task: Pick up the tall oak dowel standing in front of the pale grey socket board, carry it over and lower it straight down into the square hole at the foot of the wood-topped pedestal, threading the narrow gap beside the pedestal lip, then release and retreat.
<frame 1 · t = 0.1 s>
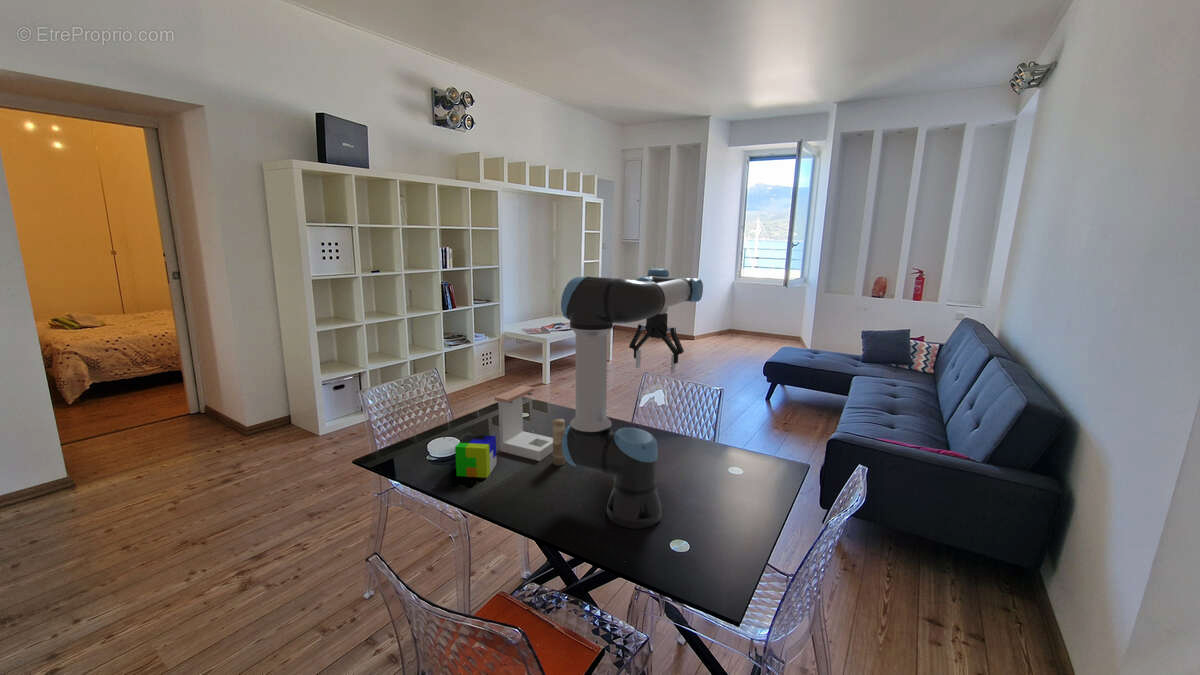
hand: (655, 369, 179), 28 cm above the table, fingers open, 13 cm apart
wood-topped pedestal: (515, 415, 177), on the socket board, point 12 cm above the table
dowel: (559, 462, 166), on the table
puzzle toy: (477, 470, 161), on the table
socket board: (529, 449, 177), on the table
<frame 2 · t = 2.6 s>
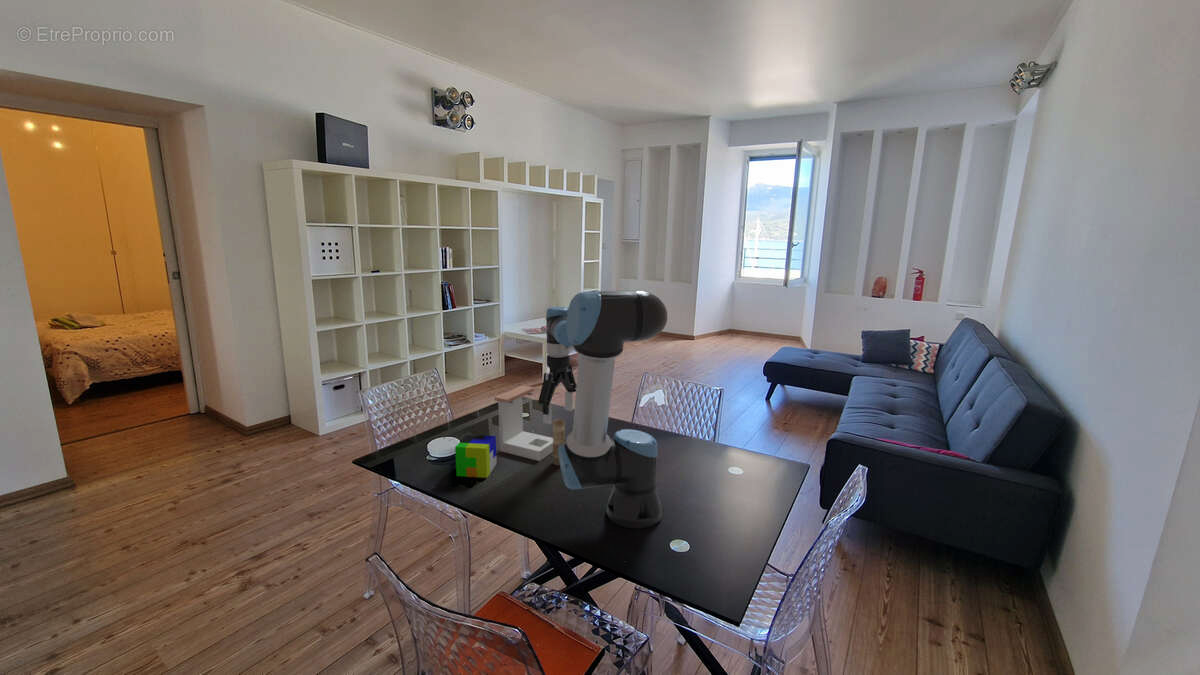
hand: (558, 416, 163), 16 cm above the table, fingers open, 13 cm apart
nothing on the table moved.
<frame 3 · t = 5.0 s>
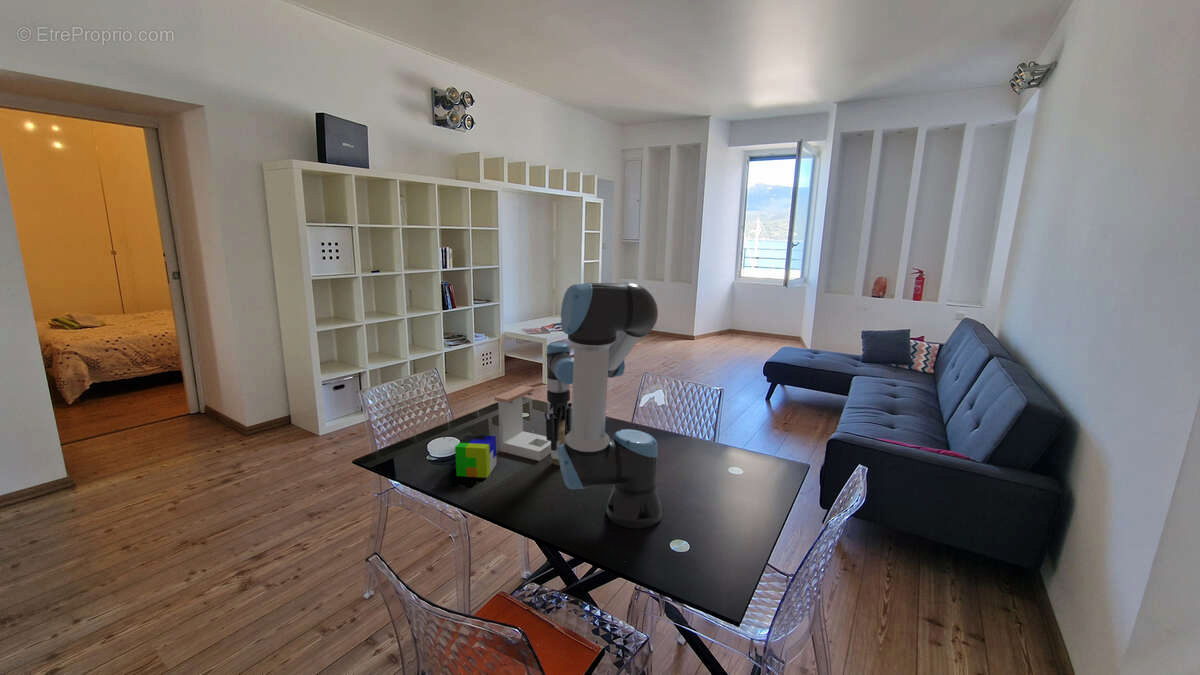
hand: (558, 455, 166), 3 cm above the table, fingers closed on dowel, 4 cm apart
dowel: (559, 462, 166), on the table, touching gripper
everything else where it was.
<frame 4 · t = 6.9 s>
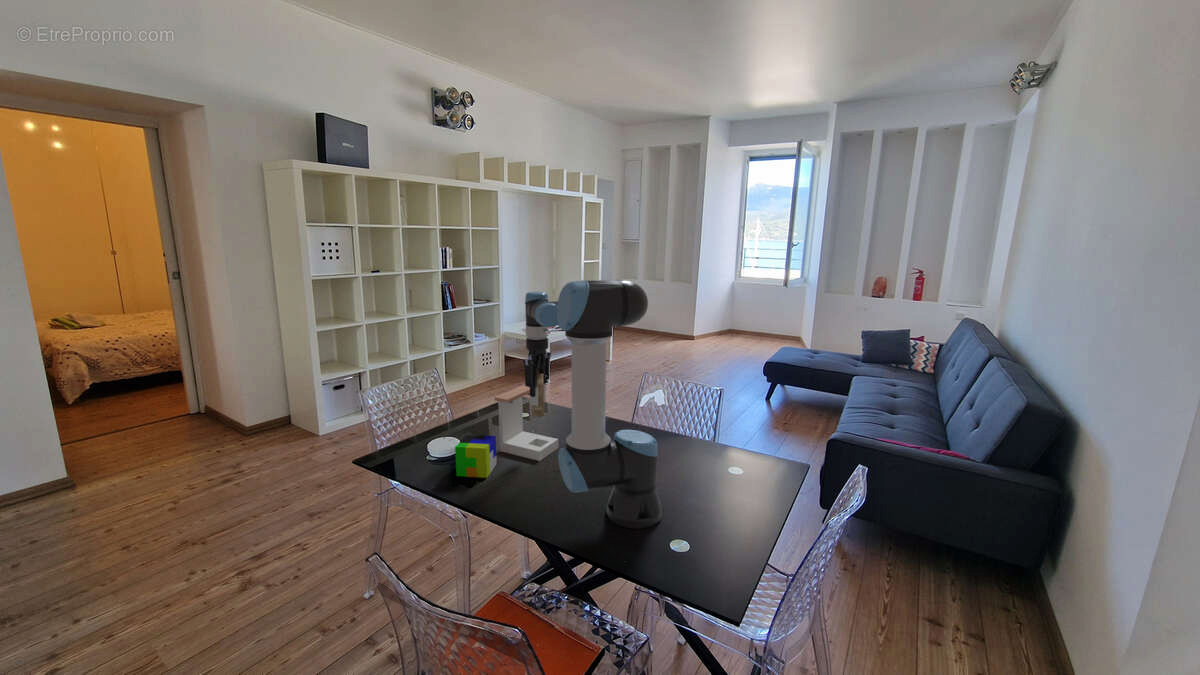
hand: (538, 402, 171), 18 cm above the table, fingers closed on dowel, 4 cm apart
dowel: (538, 415, 172), point 14 cm above the table, touching gripper
everything else where it was.
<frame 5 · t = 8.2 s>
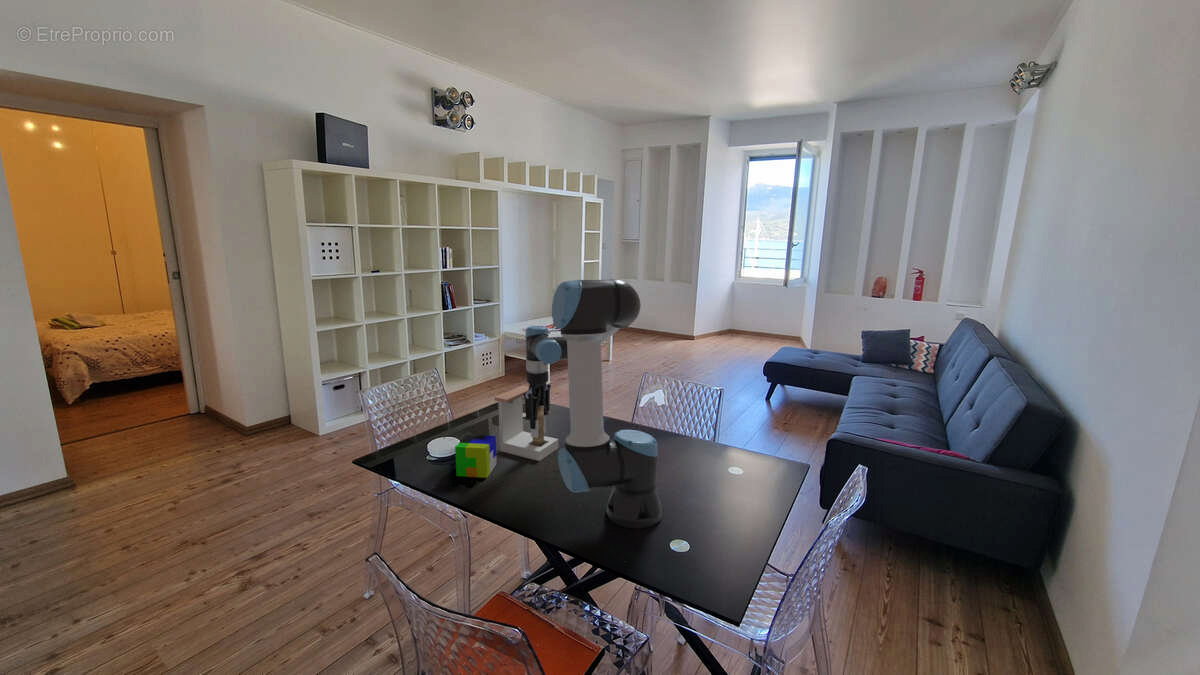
hand: (538, 434, 174), 7 cm above the table, fingers closed on dowel, 4 cm apart
dowel: (538, 446, 174), point 2 cm above the table, touching gripper
everything else where it was.
when the fingers open (4 cm above the table, at t = 8.8 s): dowel stays where it is, resting in socket board.
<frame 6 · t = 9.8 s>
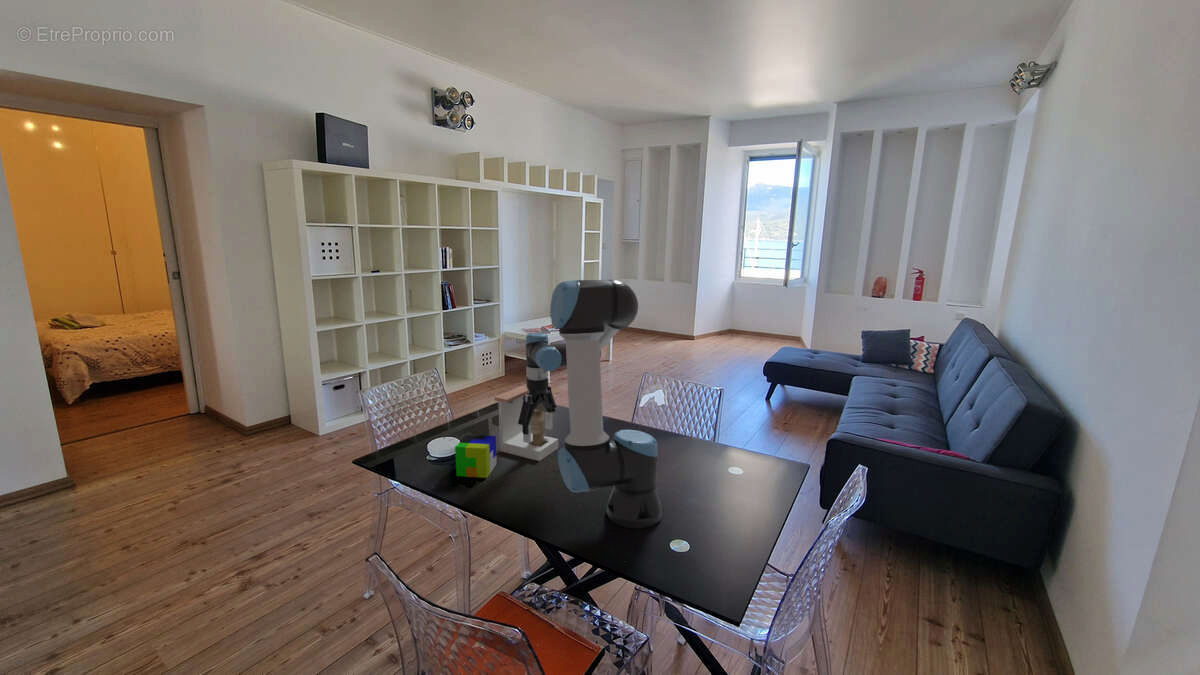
hand: (538, 435, 174), 6 cm above the table, fingers open, 13 cm apart
dowel: (538, 451, 175), resting in socket board
everything else where it was.
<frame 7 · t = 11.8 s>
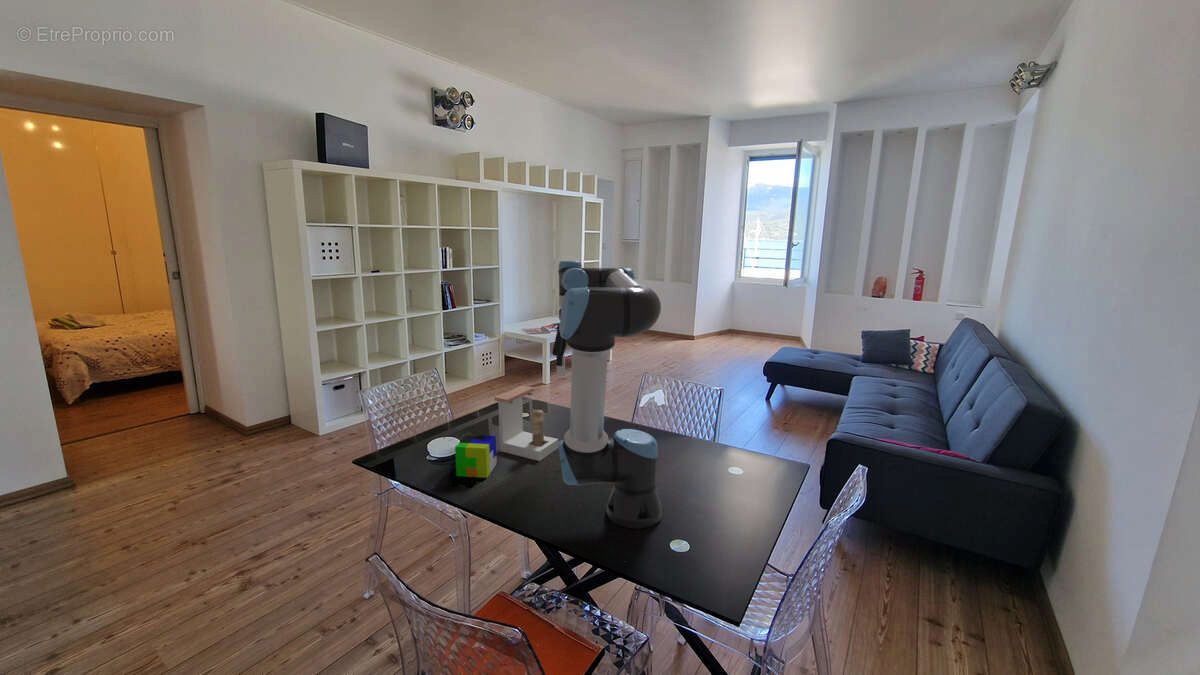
hand: (570, 371, 165), 31 cm above the table, fingers open, 13 cm apart
nothing on the table moved.
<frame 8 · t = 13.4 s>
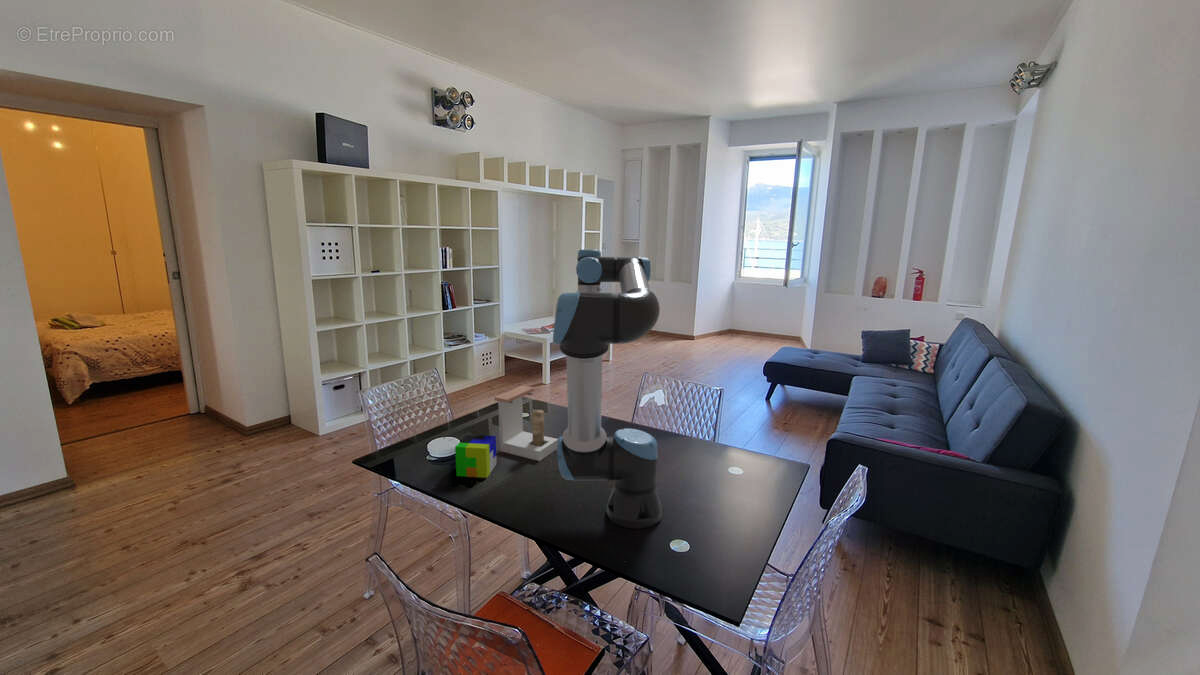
hand: (588, 361, 163), 35 cm above the table, fingers open, 13 cm apart
nothing on the table moved.
at the end: dowel 0.2 cm from the target spot on the socket board, point 0.0 cm above the socket board's base; dowel tilted 0°; the gripper is holding nothing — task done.
